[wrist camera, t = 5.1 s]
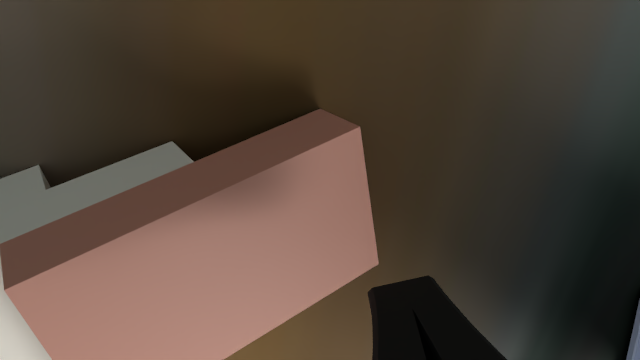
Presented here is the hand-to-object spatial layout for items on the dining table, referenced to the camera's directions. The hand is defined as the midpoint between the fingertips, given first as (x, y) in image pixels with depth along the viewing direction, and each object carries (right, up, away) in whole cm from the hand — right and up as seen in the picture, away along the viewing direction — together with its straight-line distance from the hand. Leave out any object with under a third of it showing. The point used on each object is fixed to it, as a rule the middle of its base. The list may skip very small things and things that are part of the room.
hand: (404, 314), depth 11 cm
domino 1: (-1, +3, +5) cm, 6 cm away
